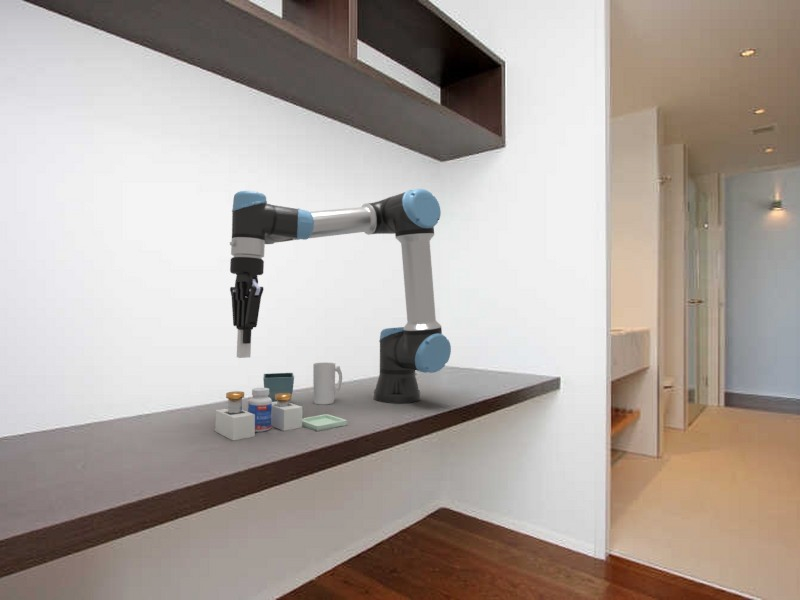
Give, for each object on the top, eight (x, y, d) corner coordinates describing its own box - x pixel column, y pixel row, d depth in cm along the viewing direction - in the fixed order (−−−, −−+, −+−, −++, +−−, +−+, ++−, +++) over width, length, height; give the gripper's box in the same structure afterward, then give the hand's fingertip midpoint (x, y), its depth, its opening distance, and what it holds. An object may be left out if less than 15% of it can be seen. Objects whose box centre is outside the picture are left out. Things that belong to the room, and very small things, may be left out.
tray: (327, 418, 125) (327, 413, 125) (347, 425, 118) (347, 420, 118) (297, 424, 119) (297, 419, 119) (317, 431, 112) (317, 426, 112)
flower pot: (262, 408, 135) (263, 377, 135) (263, 402, 144) (263, 373, 144) (293, 407, 138) (294, 376, 138) (292, 401, 146) (292, 372, 146)
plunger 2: (286, 419, 120) (286, 392, 120) (294, 422, 117) (294, 394, 117) (271, 422, 118) (272, 394, 118) (279, 425, 115) (280, 396, 115)
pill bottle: (256, 433, 109) (257, 391, 109) (243, 429, 113) (243, 389, 113) (275, 429, 114) (276, 388, 114) (262, 425, 117) (262, 386, 117)
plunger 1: (239, 420, 112) (239, 390, 112) (246, 423, 109) (247, 393, 109) (222, 422, 109) (223, 392, 109) (230, 426, 106) (230, 395, 106)
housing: (281, 419, 123) (282, 400, 123) (302, 427, 116) (302, 407, 116) (215, 431, 111) (215, 410, 111) (233, 440, 103) (233, 417, 104)
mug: (320, 405, 140) (320, 365, 140) (308, 402, 145) (309, 363, 145) (347, 401, 147) (348, 363, 147) (335, 398, 152) (336, 361, 152)
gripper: (220, 257, 113) (216, 355, 113) (244, 254, 104) (240, 360, 103) (250, 260, 118) (246, 354, 118) (275, 257, 109) (271, 359, 108)
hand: (243, 357), depth 110 cm, fingers closed
